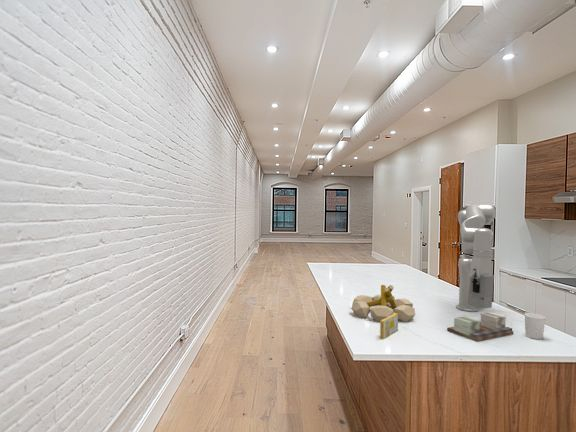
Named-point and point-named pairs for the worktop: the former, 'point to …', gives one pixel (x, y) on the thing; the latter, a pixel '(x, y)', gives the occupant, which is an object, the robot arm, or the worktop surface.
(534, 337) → the white cup
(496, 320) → the board
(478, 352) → the worktop surface
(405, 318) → the campfire
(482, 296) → the skincare box
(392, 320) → the candy box
